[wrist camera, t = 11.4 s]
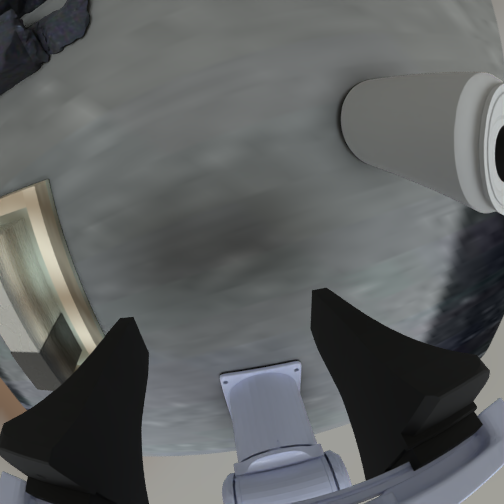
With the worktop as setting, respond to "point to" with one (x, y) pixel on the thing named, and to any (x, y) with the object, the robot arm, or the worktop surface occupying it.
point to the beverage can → (433, 132)
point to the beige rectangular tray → (54, 260)
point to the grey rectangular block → (32, 313)
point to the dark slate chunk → (35, 37)
